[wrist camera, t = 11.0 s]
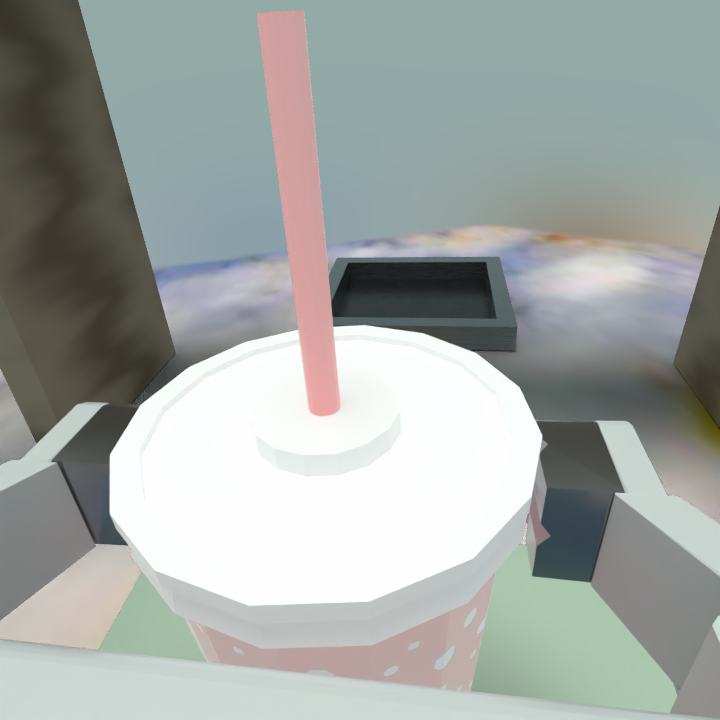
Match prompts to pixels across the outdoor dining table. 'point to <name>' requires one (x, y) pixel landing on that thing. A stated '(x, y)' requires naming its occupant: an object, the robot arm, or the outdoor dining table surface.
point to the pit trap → (427, 298)
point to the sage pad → (483, 642)
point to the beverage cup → (327, 468)
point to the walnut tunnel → (124, 237)
